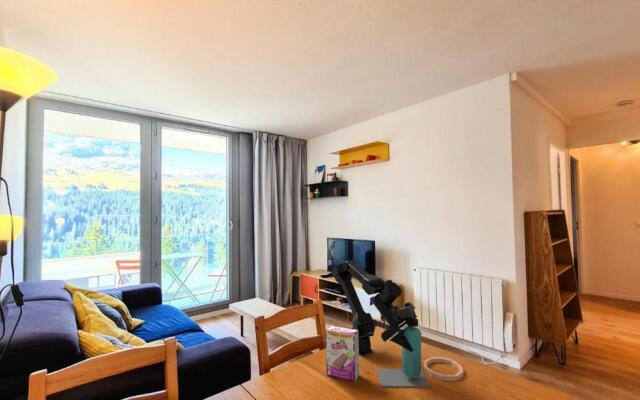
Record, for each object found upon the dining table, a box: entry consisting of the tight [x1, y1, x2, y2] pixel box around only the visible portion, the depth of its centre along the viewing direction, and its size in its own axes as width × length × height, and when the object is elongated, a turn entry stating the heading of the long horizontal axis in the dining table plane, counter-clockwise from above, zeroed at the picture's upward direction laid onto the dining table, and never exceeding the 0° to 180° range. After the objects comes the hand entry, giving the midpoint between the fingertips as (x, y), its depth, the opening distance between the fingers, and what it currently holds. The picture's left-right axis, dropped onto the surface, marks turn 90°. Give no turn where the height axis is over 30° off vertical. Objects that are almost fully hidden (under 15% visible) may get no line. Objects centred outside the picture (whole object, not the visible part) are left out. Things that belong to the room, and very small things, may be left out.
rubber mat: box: [376, 368, 431, 388], centre depth 105 cm, size 16×10×1 cm, turn 87°
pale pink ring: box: [423, 356, 464, 382], centre depth 109 cm, size 13×14×2 cm
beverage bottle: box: [401, 317, 423, 377], centre depth 105 cm, size 6×7×20 cm
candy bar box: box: [325, 325, 360, 382], centre depth 108 cm, size 11×5×16 cm, turn 65°
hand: (416, 347), depth 104 cm, fingers closed on beverage bottle, 6 cm apart
